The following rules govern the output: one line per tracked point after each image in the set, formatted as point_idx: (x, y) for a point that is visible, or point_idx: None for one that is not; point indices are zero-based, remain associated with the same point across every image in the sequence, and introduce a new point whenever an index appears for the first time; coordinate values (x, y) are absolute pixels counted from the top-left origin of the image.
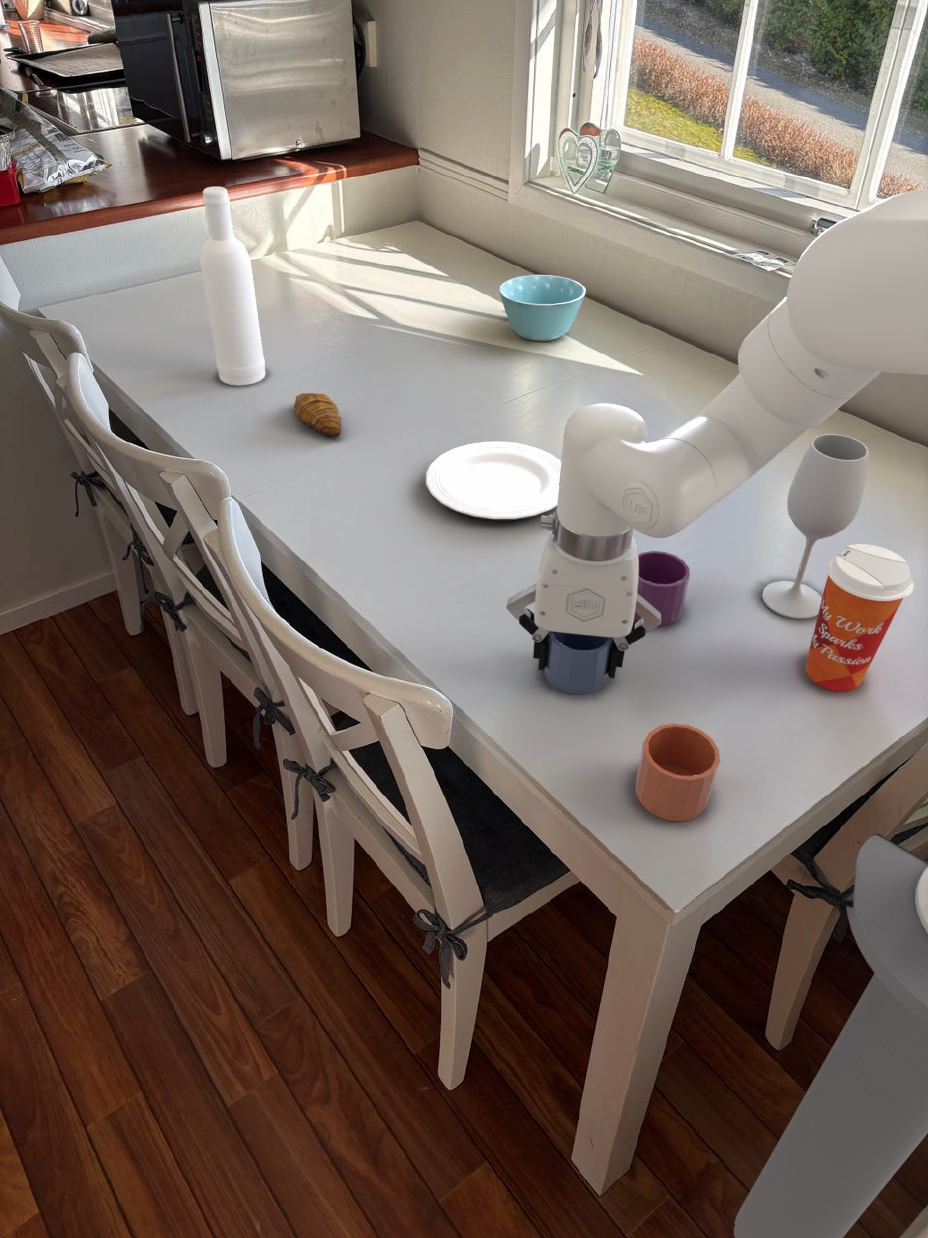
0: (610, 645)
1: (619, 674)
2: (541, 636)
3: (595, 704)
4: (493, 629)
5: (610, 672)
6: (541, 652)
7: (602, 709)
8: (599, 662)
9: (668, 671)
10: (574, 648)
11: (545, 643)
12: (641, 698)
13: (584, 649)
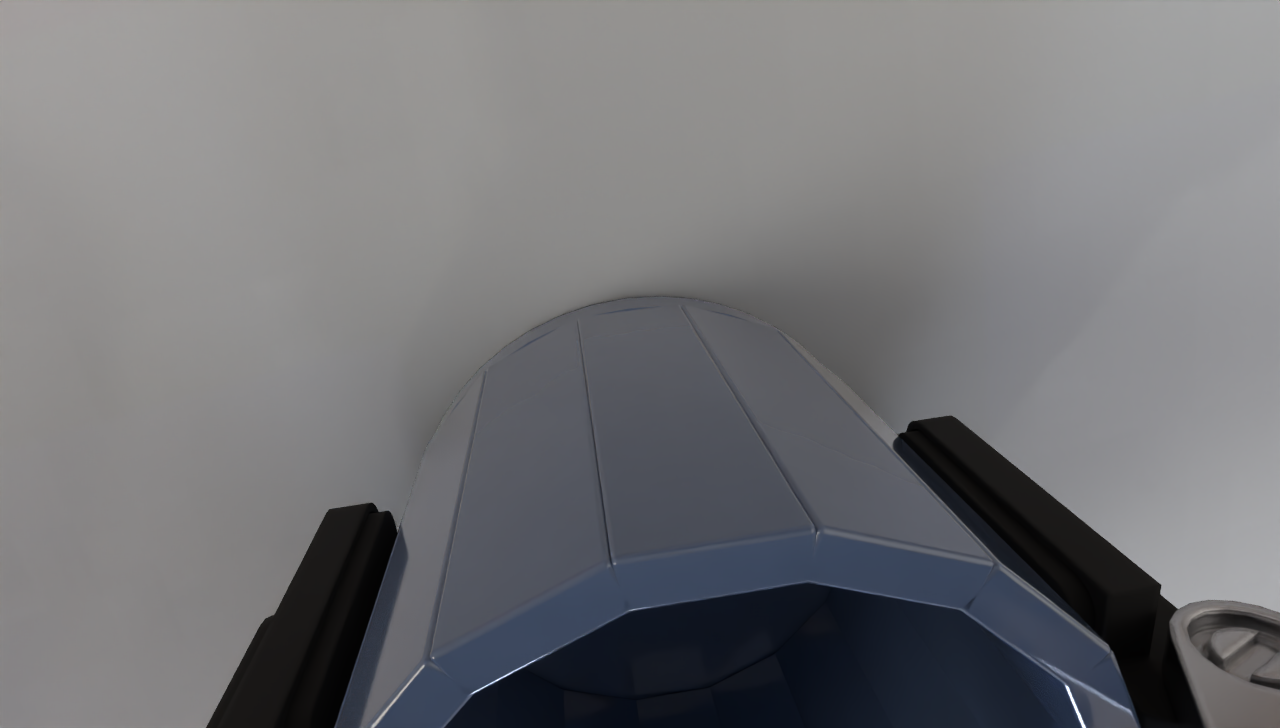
0: None
1: None
2: (1237, 677)
3: (438, 235)
4: None
5: (357, 535)
6: (1059, 517)
7: (367, 193)
8: (430, 547)
9: (5, 715)
10: (698, 701)
11: (1090, 615)
12: (97, 405)
13: (628, 713)
